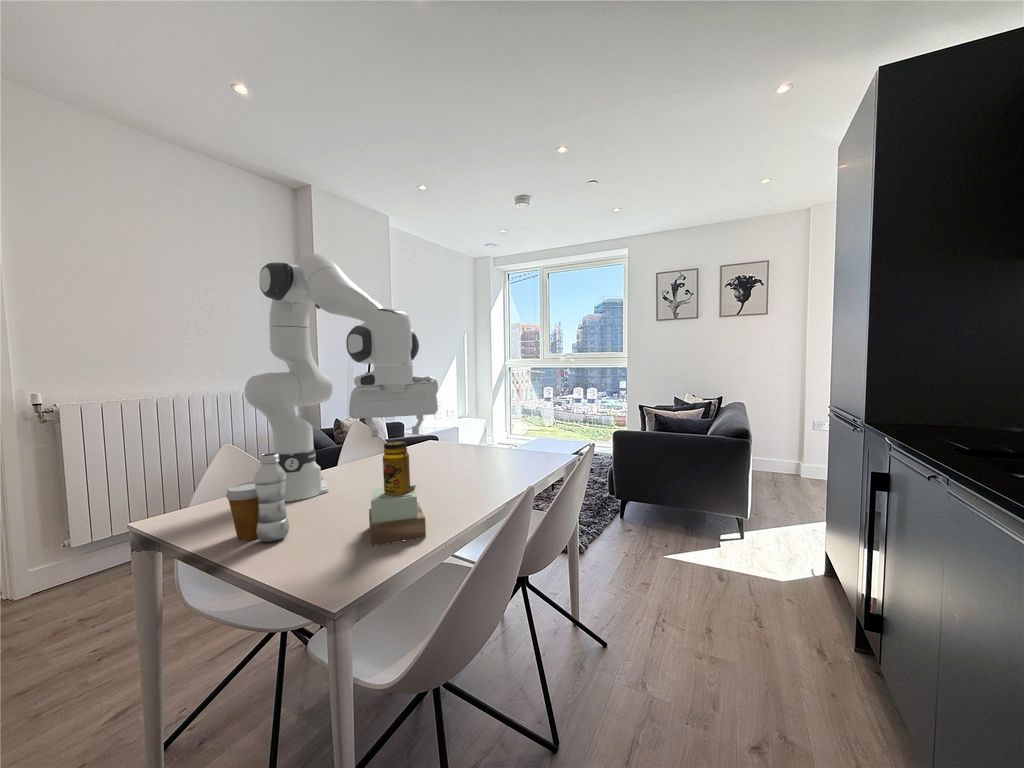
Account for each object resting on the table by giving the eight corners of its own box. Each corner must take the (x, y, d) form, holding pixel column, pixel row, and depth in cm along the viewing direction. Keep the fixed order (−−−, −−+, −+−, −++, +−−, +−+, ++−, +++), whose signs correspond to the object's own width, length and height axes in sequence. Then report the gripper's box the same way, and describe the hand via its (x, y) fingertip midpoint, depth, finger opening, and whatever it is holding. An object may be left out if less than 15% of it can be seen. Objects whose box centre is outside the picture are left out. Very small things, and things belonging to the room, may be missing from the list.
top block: (373, 509, 103) (372, 489, 103) (414, 504, 106) (414, 485, 105) (371, 523, 93) (370, 501, 93) (417, 517, 96) (416, 496, 96)
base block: (369, 528, 103) (368, 508, 103) (418, 521, 108) (418, 502, 107) (371, 548, 92) (370, 525, 92) (425, 539, 96) (425, 517, 96)
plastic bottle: (293, 539, 97) (290, 454, 96) (260, 548, 92) (257, 459, 92) (284, 531, 102) (281, 450, 101) (252, 540, 97) (249, 455, 96)
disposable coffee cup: (281, 533, 100) (277, 484, 100) (235, 547, 93) (231, 494, 93) (268, 524, 107) (265, 478, 106) (224, 536, 100) (220, 487, 99)
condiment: (379, 497, 96) (376, 446, 95) (387, 487, 104) (385, 439, 104) (411, 496, 96) (409, 444, 96) (416, 486, 105) (415, 438, 104)
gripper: (435, 376, 105) (436, 430, 106) (348, 377, 98) (350, 436, 99) (440, 376, 99) (441, 434, 100) (347, 378, 92) (349, 440, 93)
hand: (395, 435), depth 99 cm, fingers open, 8 cm apart
